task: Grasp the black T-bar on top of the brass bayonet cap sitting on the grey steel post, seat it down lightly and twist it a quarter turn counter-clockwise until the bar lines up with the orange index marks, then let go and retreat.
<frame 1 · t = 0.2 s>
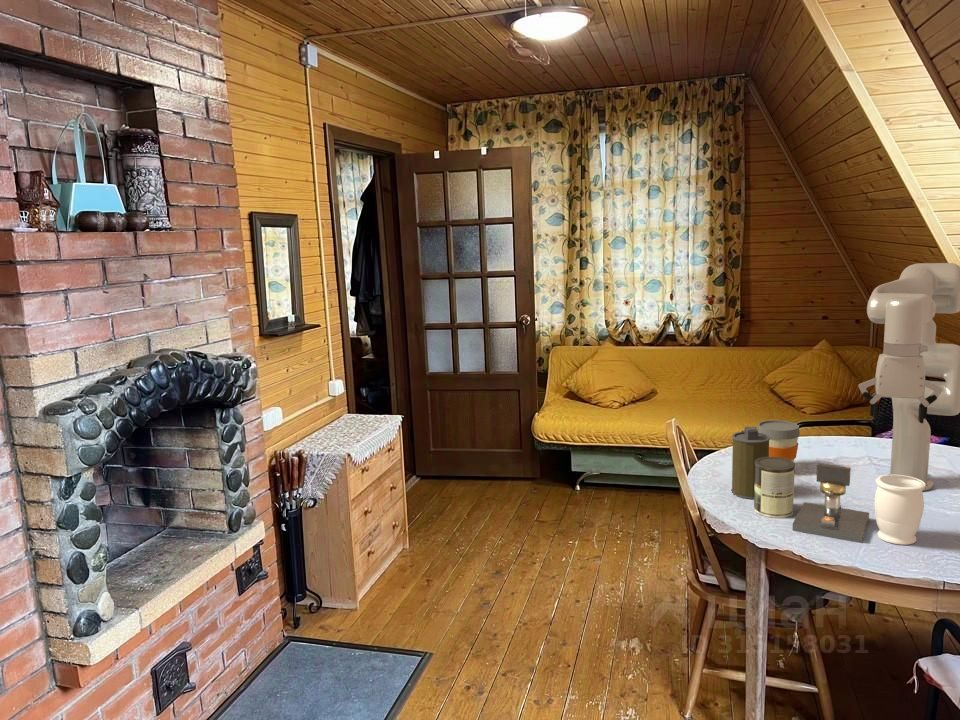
hand: (897, 420, 173), 31 cm above the table, fingers open, 9 cm apart
bayonet cap: (833, 478, 187), point 13 cm above the table, hinge at 0.0°
reusable coffee cup: (776, 471, 231), on the table
jar: (896, 539, 180), on the table
canister: (749, 493, 214), on the table
coffee can: (773, 511, 200), on the table
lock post: (831, 525, 189), on the table
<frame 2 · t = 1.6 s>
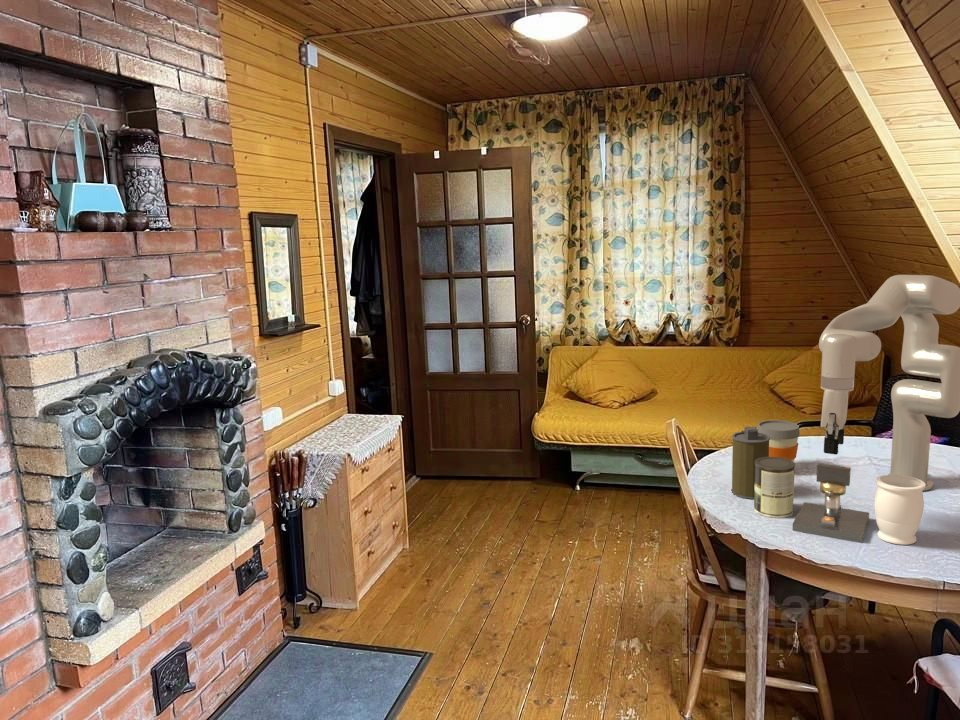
hand: (833, 448, 185), 21 cm above the table, fingers open, 9 cm apart
nothing on the table moved.
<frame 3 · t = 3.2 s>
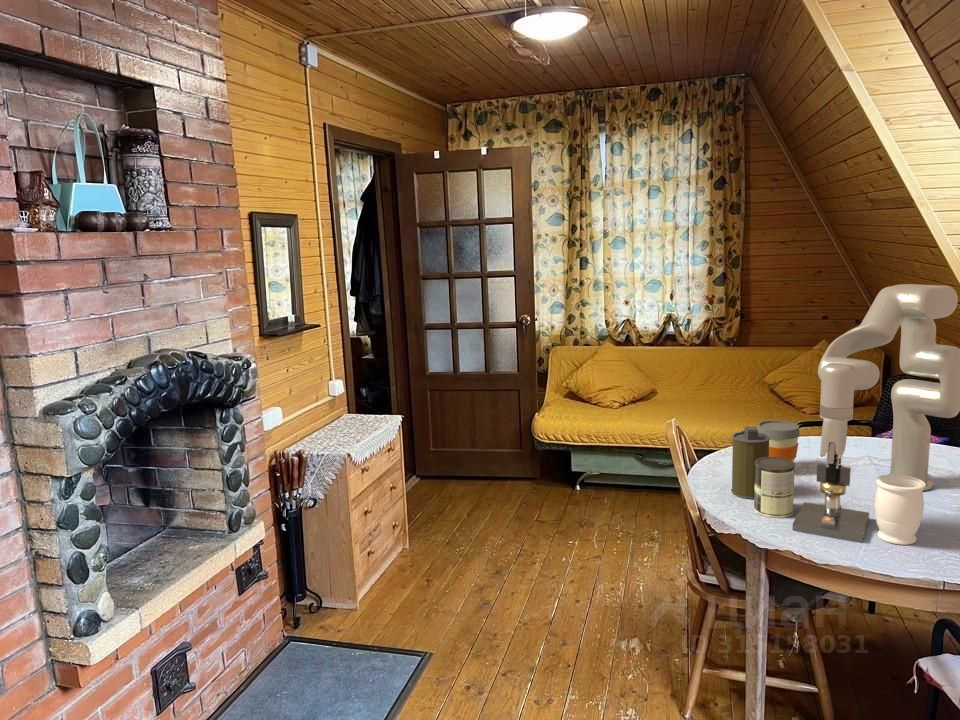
hand: (833, 480, 187), 12 cm above the table, fingers closed on bayonet cap, 2 cm apart
bayonet cap: (833, 478, 187), point 13 cm above the table, hinge at 0.0°, touching gripper
everything else where it was.
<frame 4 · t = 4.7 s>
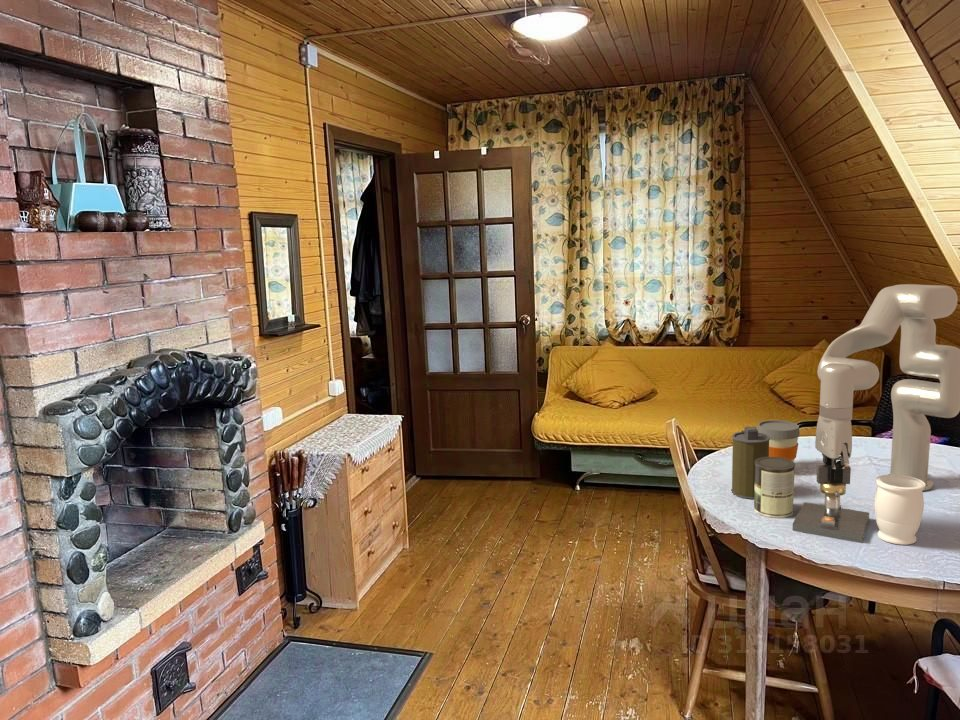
hand: (832, 480, 187), 12 cm above the table, fingers closed on bayonet cap, 2 cm apart
bayonet cap: (833, 478, 187), point 13 cm above the table, hinge at 23.4°, touching gripper
everything else where it was.
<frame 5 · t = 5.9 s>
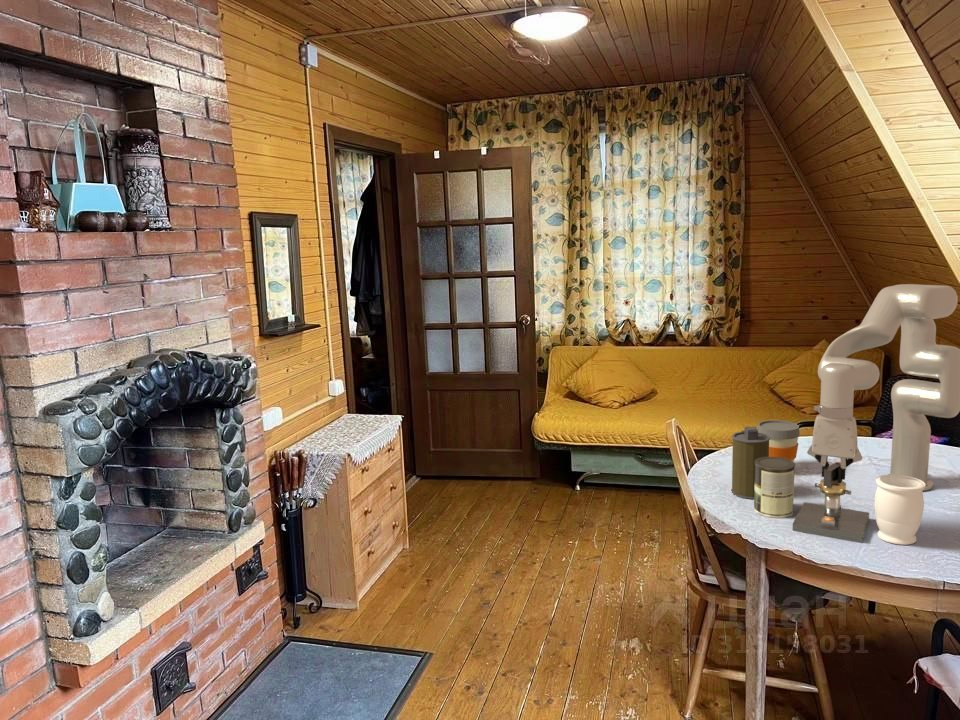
hand: (833, 480, 187), 12 cm above the table, fingers closed on bayonet cap, 2 cm apart
bayonet cap: (833, 478, 187), point 13 cm above the table, hinge at 76.2°, touching gripper
everything else where it was.
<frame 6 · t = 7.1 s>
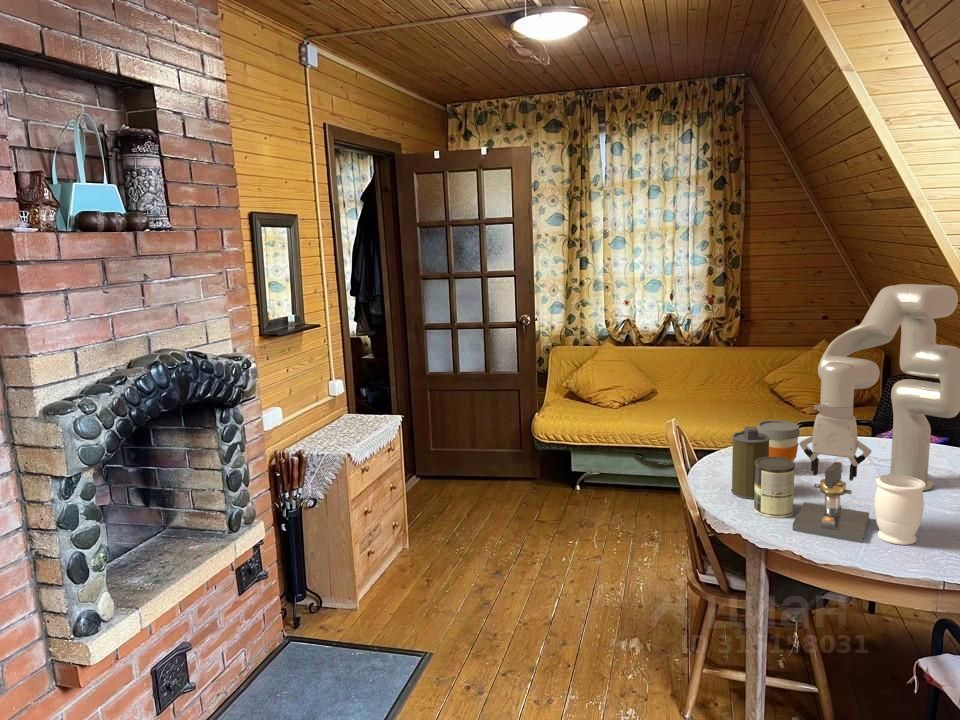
hand: (833, 476, 187), 13 cm above the table, fingers open, 8 cm apart
bayonet cap: (833, 478, 187), point 13 cm above the table, hinge at 81.8°
everything else where it was.
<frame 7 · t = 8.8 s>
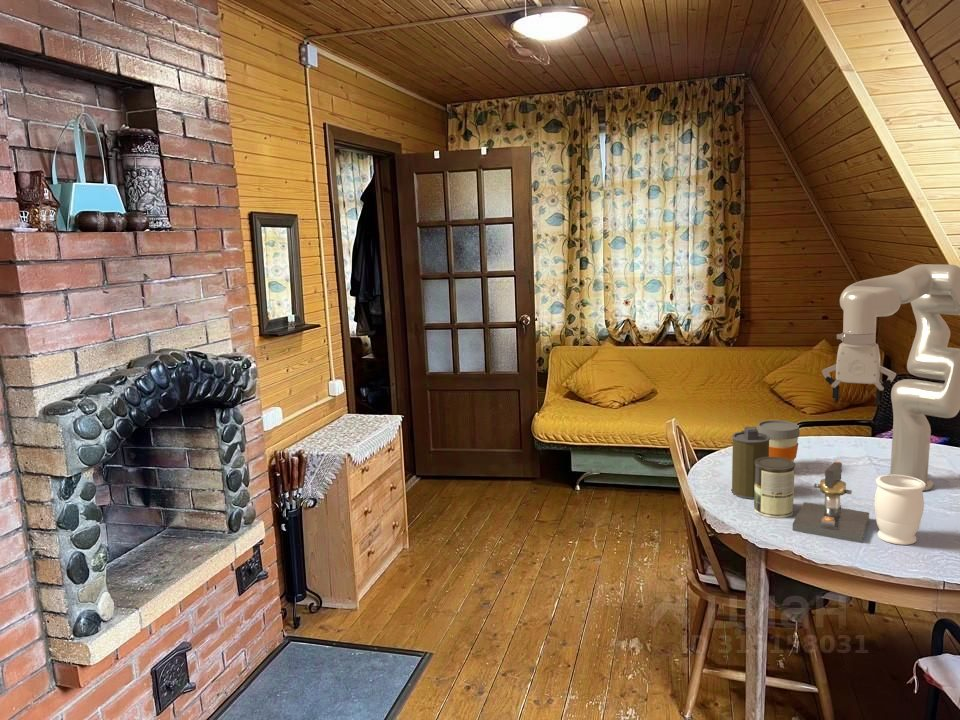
hand: (857, 402, 191), 31 cm above the table, fingers open, 9 cm apart
nothing on the table moved.
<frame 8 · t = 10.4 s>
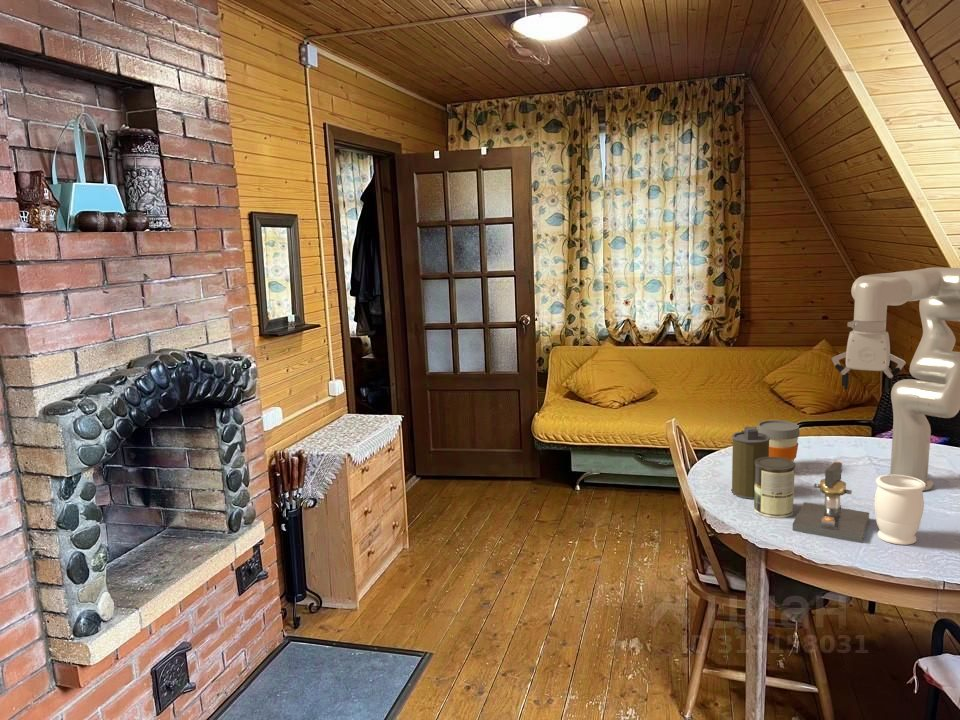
hand: (866, 390, 193), 33 cm above the table, fingers open, 9 cm apart
nothing on the table moved.
at the end: bayonet cap at +82° (first picture: +0°); the gripper is holding nothing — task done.
